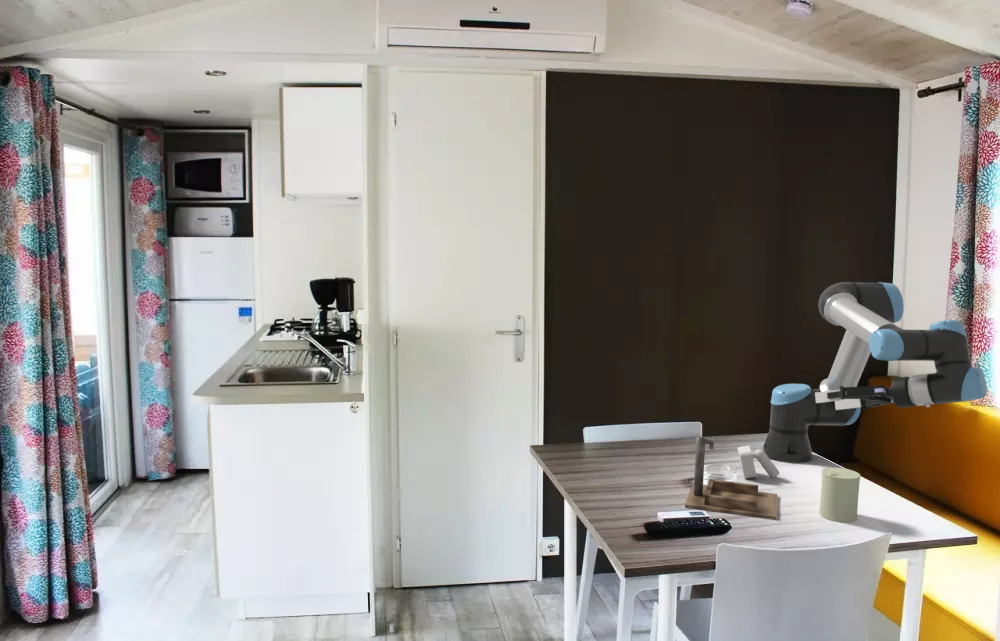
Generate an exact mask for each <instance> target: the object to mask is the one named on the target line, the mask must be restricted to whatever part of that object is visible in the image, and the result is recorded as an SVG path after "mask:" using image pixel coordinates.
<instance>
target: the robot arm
mask: <svg viewBox="0 0 1000 641" xmlns="http://www.w3.org/2000/svg"><path fill="white" fill-rule="evenodd" d="M818 299H819V300H818V304H817V306H818V311H819V313H820V315H821V317H822V318H823V319H824V320H826V322H828V323H830V324H832V325H834V326H838V327H839V326H841V327H843V328H844V329H845V333H844V335H843V338H842V340H841V344H840V345H839V348H838V351H837V354H836V355H835V359H834V361H833V363H832V366H831V369H830V373H829V374H828V376H827V378H825V379H823V380H822V381H821V382H820V384H819V386H818V388H817V389H815V388H811V387H810V385H809V384H805V383H785V384H780V385H778V386H776V387H774V388H773V389H772V393H771V399H770V420H769V430H768V431H769V432H768V433H767V437H766V439H765V442H764V443H763V445H762V450H763V451H764V452H765V453H766V455H767V456H768V457H769V459H770V460H771V459H772V460H775V461H779V462H780V461H781V462H787V463H807V462H809V461H811V460H812V459H813V450H812V446H811V443H810V439H809V435H808V431H809V426H832V427H833V426H836V427H842V426H849V425H852V424H854V423H855V422H857V420H858V418H859V416H860V414H861V410H863V411H868V409H871V408H876V407H880V406H885V405H890V404H895V406H896V407H897V408H899V409H903V408H904V409H905V408H911V407H912V408H913V407H915V406H917V407H919V406H921V407H922V406H925V407H926V408H930V407H931V405H939V404H940V405H941V404H951V403H952V404H953V403H960V402H962V403H963V402H965V403H966V402H968V401H974V400H980V399H984V398H985V397H986V395H987V392H988V390H987V389H988V388H987V386H988V385H987V380H986V377H985V374H984V372H983V370H982V369H981V368H980V367H973V365H972V363H971V360H970V352H969V350H970V349H969V344H968V336H967V331H966V329H965V325H964V324H963V322H961V321H960V320H955V319H954V320H953V319H948V320H940V321H935V322H933V323H932V324H930V325H929V327H928V328H929V329H905V328H904V329H903V328H902V327H900V326H898V325H896V324H895V323H899V322H900V321H901V319H902V317H903V314H904V308H905V307H904V305H905V304H904V299H903V295H902V293H901V290H900V289H899V287H898V286H896V285H895V284H894V283H891V282H882V281H878V282H854V281H853V282H851V281H841V282H837V283H834V284H832V285H830V286H828V287H827V288H826V289H824V290H823V292H822V293H821V294H820V297H819V298H818ZM870 356H872V357H873V358H874V359H875V360H879V361H887V362H894V361H897V362H898V361H899V362H900V361H904V362H905V361H907V362H908V361H916V362H917V361H919V362H920V361H923V362H924V361H925V362H926V361H927V362H928V361H929V362H931V361H932V362H934V367H935V370H936V372H934V373H933V372H932V373H923V374H915V375H914V374H913V375H911V376H910V377H909V376H900V377H895V378H893V379H892V380H891V382H890V383H891V386H889V387H888V386H886V385H883V384H879V385H869V386H867V385H866V386H858V383H859V382H860V379H861V377H862V373H863V372H864V370H865V367H866V365H867V362H868V361H869V360H868V359H869V358H870Z"/></svg>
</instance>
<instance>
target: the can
mask: <svg viewBox="0 0 1000 641" xmlns="http://www.w3.org/2000/svg"><path fill="white" fill-rule="evenodd" d="M860 482H861V474H860V473H859V472H857V471H854V470H852V469H848V468H842V467H825V468H823V469H822V470H821V488H820V490H821V491H820V504H819V510H818V514H819V516H821V518H822V517H823V519H827V520H828V519H829V521H831V522H836V521H837V522H839V523H854V522H856V521H857V520H859V519H858V509H859V508H858V507H859V504H858V502H859V493H860Z"/></svg>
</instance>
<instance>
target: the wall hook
mask: <svg viewBox="0 0 1000 641" xmlns="http://www.w3.org/2000/svg"><path fill="white" fill-rule="evenodd" d="M736 448H737V452H738V457H739V462H740V467H741V471H742V475H743V477H744V479H745V480H746V479H753V478H757V471H756V468H755V463H754V459H756V460H757V462H759V464H760V466H761V467H762V468H763V469H764V471H765V472H766V473H767V475H768V476H769V478H770V479H775V478H776V477H778V476H779V474H780V471H779V470H778V468H777V467H776V465H775V464H774V463H773V461H772V460H771V458H769V457H768V456H767V455H766V453H765V452H764V451H763V449H756V451H754V453H752V450H751V447H750V445H742V446H738V447H736Z"/></svg>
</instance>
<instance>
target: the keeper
mask: <svg viewBox="0 0 1000 641" xmlns="http://www.w3.org/2000/svg"><path fill="white" fill-rule="evenodd" d="M714 442H715V440H714V438H708V437H704V436H703V437H702V436H696V438H695V458H694V459H695V460H694V461H695V462H694V480H693V481H694V483H691V487H690V489H689V493H688V495H687V497H686V501H685V503H684V508H687V509H693V510H702V511H708V512H717V513H722V514H723V513H725V514H731V515H732V514H733V515H740V516H746V517H753V518H754V517H755V518H760V517H761V519H768V520H778V493H772V492H765V491H759V484H753V483H752V484H751V483H745V482H744V483H743V482H737V481H730V480H719V479H713V478H709V479H708V483H707V484H704V474H705V473H704V472H705V453H706V445H709V447H708V449H709V450H714V448H715V447H714Z"/></svg>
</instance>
